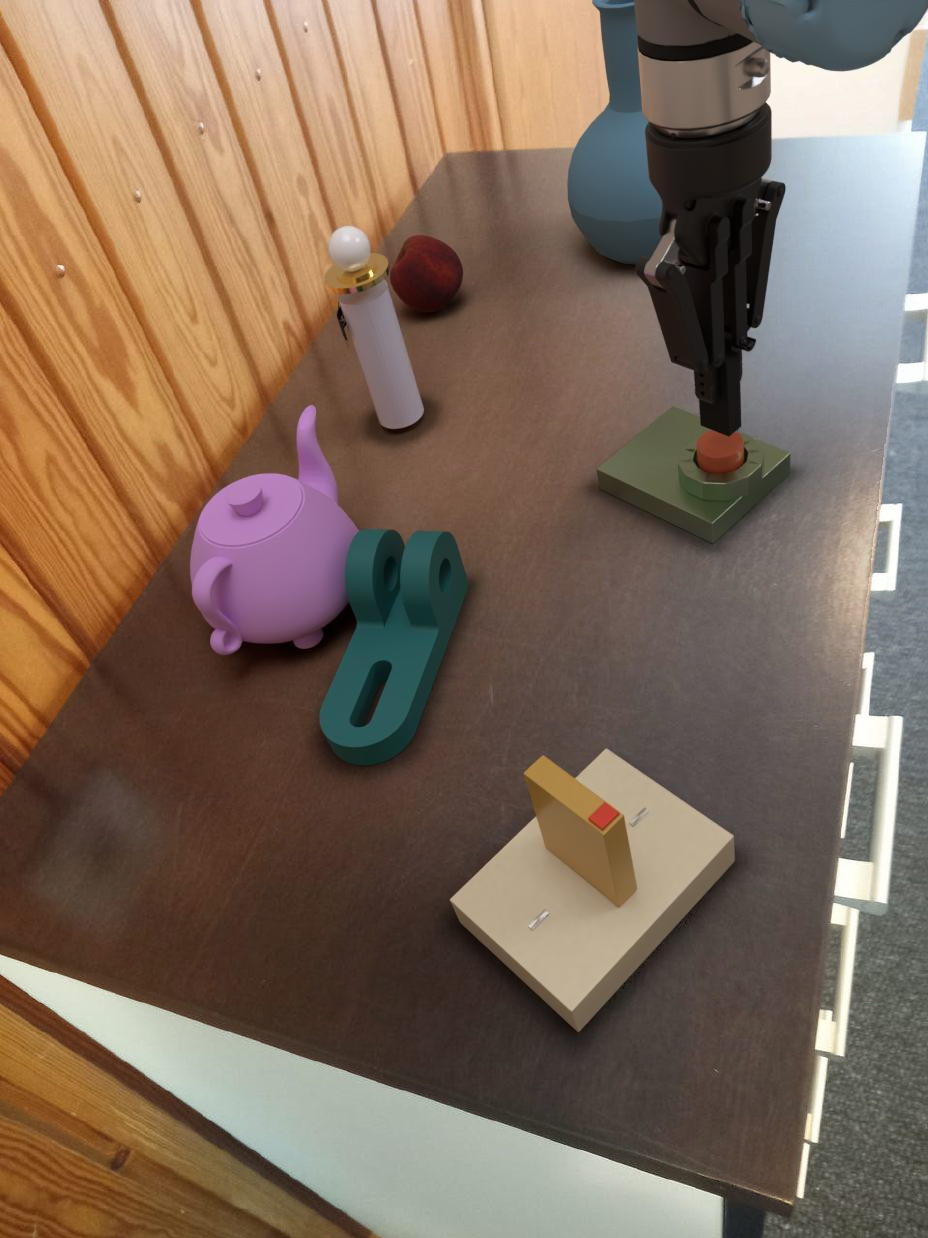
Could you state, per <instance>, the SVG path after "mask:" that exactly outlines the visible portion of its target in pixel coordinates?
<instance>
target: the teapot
mask: <svg viewBox="0 0 928 1238" xmlns="http://www.w3.org/2000/svg"><path fill="white" fill-rule="evenodd" d="M316 420H317V408H316V407H315V405H312V404H310V405H308V406H307V407H306V408H304V410H303V412H302V413H301V414H300V417H299V419H298V422H297V426H296V452H297V461H298V478H295V477H293V476H289V475H288V474H287V475H286V474H282V473H281V474H280V473H275V472H274V473H272V472H271V473H270V472H269V473H268V472H267V473H257V474H253V475H249V476H246V477H243V478H241V479H237V480H236V481H234V482H232V483H230V484H228V485H226V486H225V487H224V488H222V489H220V490H219V491H218V492H217V493H216V494H214V496H212V497H211V499H210V500H209V501H208V502H207V503H206V504H205V506H204V507H203V509H202V511H201V513H200V515H199V518H198V520H197V523H196V527H195V530H194V536H193V540H192V544H191V551H190V559H189V560H190V561H189V571H190V572H189V573H190V582H191V597H192V600H193V602H194V604H195V606H196V608H197V609H198V610H199V612H200V613H201V615H202V617H203V619H204V620H205V621H206V622H207V624H208V625H209V626H210V627H212V628H213V629H214V630H213V631H212V633H211V635H210V639H209V643H210V647H211V649H212V650H213V651H214V652H215V653H216V654H217V655H220V656H229V655H233V654H234V653H235V652H237V651H238V650H239V649H240V648H241V646H242V645H243V644H242V643H243V642H246V643H252V644H264V645H265V644H266V645H267V644H269V645H270V644H271V645H273V644H282V643H287V642H292V641H293V645H294V646H295V647H297V648H299V649H302V650H304V649H305V650H306V649H310V648H313V647H315V646H316V645H318V644H319V643H320V642H321V641H322V639H323V637H324V630H323V628H325V627H326V626H327V625H329V624H330V623H331V622H332V621H333V620H334V619H335V618H337V617H338V616H339V615H340V614H341V613H342V612H343V611H344V610H345V608H346V607H347V606H348V604H350V603H349V600H348V597H347V593H346V586H345V565H346V558H347V553H348V550H349V546H350V544H351V542H352V539H353V538H354V536H355V535H356V533H357V532H358V531H359V529H358V527H357V526H356V524H355V523H354V521H353V520H352V519H351V517H350V516H349V515H348V514H347V513H346V512H345V510H343V508H342V507H341V506H340V505H339V492H338V491H339V490H338V484H337V480H336V477H335V474H334V472H333V470H332V468H331V467H330V464H329V463H328V461H327V459H326V457H325V455H324V453H323V452H322V449H321V446H320V445H319V442H318V438H317V433H316V432H317V431H316Z"/></svg>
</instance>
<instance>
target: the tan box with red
mask: <svg viewBox="0 0 928 1238" xmlns="http://www.w3.org/2000/svg"><path fill="white" fill-rule="evenodd" d="M522 775H523V777H524V781H525V784H526V787H527V790H528V794H529V797H530V801H531V803H532V808H533V810H534V813H535V814H534V815H535V817H537V821H538V824H539V827H540V831H541V834H542V837H543V841H544V844H545V847H546V848H547V849H548V850H550V851H551V852H552V853H553V854H554V855H556V856H557V857H558V858H559V859H561V860H562V861H563V862H564V863H565V864H567V865H568V866H569V867H570V868H572V869H573V870H574V871H575V872H576V873H578V874H579V875H580V876H581V877H583V878H584V879H585V880H586V881H587V882H589V883H590V884H591V885H592V886H593V887H595V888H596V889H597V890H598V891H600V892H601V893H602V894H603V895H604V896H606V897H607V898H608V899H609V900H611V901H612V902H613V903H614V904H615V905H617V906H618V907H620V906H621V905H622V904H623V903H624V902H625V901H626V900H627V899H628V898H629V897H630V896H631V895H632V894H633V893H634V892H635V891H636V890H637V883H636V878H635V873H634V867H633V862H632V856H631V851H630V845H629V840H628V835H627V829H626V824H625V818H624V815H623V814H622V813H621V812H619V811H618V810H617V809H615V808H614V807H612V806H611V805H610V804H608V803H607V802H606V801H604V800H603V799H602V798H600V797H599V796H598V795H596V794H595V793H594V792H592V791H591V790H590V789H588V788H587V787H586V786H584V785H583V784H582V783H580V782H579V781H578V780H576V779H575V778H576V777H574V776H572V775H571V774H570V773H568V772H567V771H566V770H564V769H563V768H561V767H560V766H559V765H558V764H556V763H555V762H553V761H552V760H551V759H550V758H548V757H547V756H545V755H543V754H542V755H541V756H540V757H539V758H537V760H535V762H534V763H532V764H531V765H530V766H529V767H528V768H527V769H526V770H525V771H524V772H523V774H522Z"/></svg>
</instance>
